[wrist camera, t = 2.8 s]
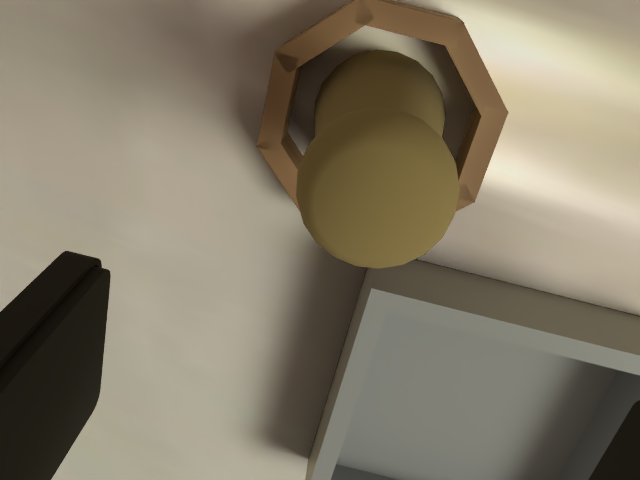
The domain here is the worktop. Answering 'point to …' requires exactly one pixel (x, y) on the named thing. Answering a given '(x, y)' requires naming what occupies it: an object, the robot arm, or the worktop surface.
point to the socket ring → (382, 13)
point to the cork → (378, 163)
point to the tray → (474, 381)
